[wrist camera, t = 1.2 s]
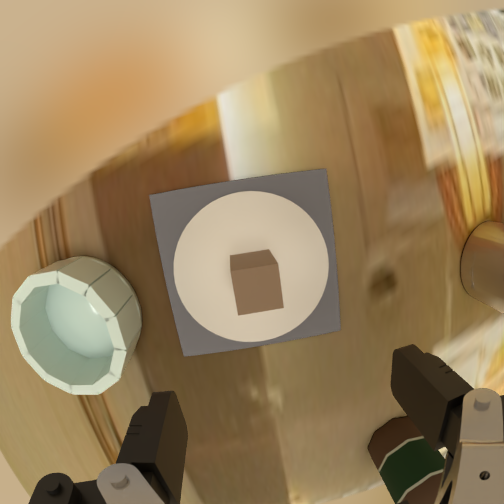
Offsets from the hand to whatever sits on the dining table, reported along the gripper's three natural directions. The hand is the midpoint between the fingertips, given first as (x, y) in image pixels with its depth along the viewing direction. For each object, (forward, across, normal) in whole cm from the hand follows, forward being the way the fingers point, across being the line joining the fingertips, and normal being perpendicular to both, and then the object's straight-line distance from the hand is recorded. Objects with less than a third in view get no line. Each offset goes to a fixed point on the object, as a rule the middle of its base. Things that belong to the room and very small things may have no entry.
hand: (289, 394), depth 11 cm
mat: (+18, 0, 0) cm, 18 cm away
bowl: (+18, +16, +2) cm, 24 cm away
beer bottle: (+18, -15, +26) cm, 35 cm away
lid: (+18, 0, 0) cm, 18 cm away
